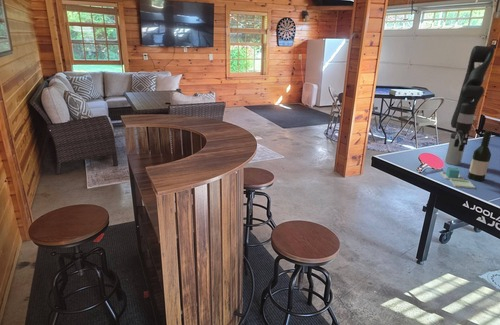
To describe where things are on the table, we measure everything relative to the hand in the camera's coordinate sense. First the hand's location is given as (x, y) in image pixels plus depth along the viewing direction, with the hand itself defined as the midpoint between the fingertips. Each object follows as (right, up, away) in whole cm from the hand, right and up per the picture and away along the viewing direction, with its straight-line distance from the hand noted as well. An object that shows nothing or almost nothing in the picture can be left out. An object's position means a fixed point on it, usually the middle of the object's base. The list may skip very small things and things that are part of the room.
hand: (458, 148), depth 191 cm
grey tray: (0, -17, +6) cm, 18 cm away
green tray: (-1, -21, -5) cm, 21 cm away
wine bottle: (+13, -18, +4) cm, 23 cm away
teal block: (0, -17, +6) cm, 18 cm away
